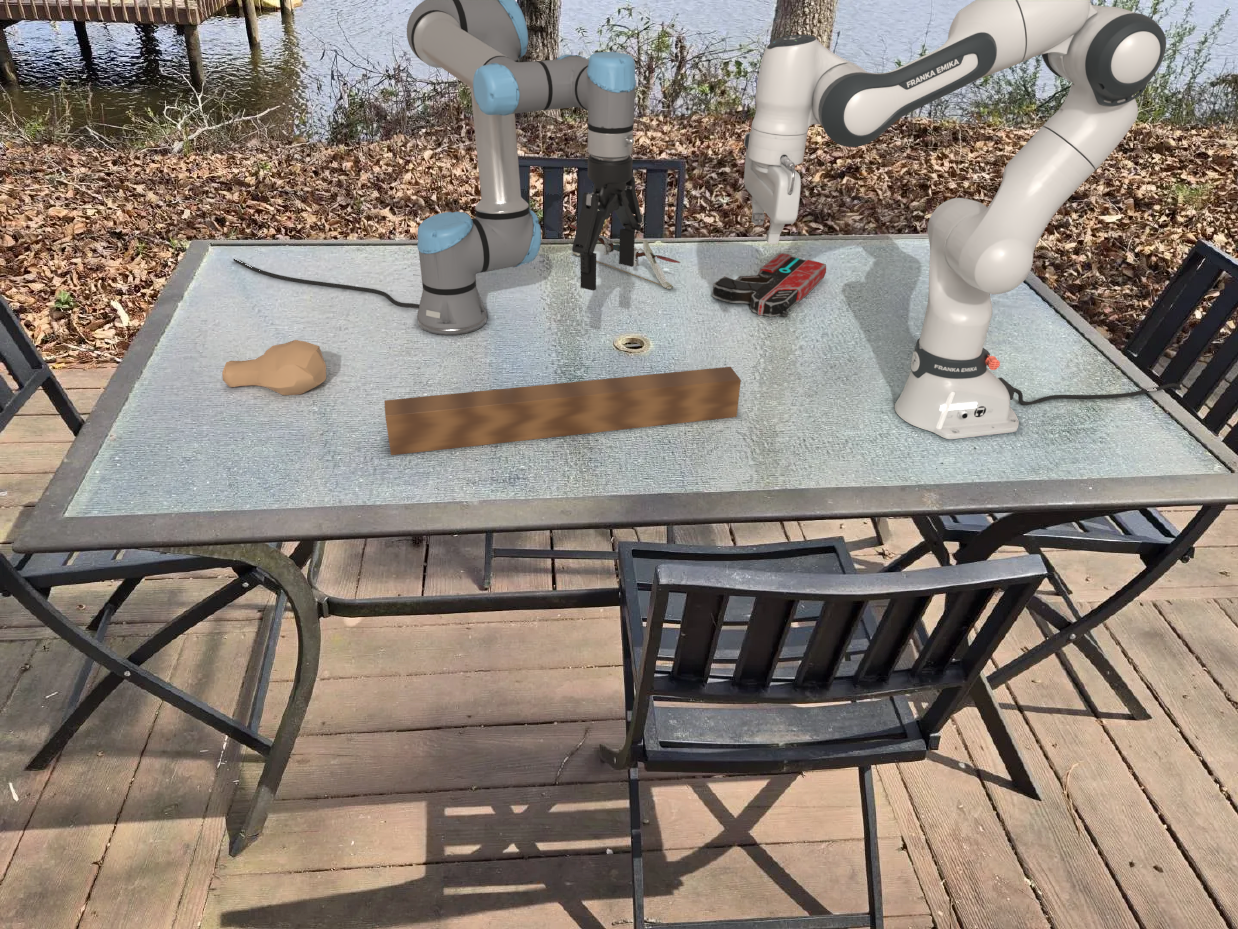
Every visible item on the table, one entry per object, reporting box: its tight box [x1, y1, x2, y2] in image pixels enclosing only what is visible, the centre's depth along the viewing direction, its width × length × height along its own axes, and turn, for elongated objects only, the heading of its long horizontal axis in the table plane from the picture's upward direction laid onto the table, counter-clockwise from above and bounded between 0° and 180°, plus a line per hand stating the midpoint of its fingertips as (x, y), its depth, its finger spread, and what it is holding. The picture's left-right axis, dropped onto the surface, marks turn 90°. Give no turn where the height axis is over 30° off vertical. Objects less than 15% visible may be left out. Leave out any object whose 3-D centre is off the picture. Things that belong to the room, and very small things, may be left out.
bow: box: [567, 223, 681, 290], centre depth 222 cm, size 39×2×10 cm, turn 47°
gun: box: [711, 252, 827, 318], centre depth 215 cm, size 4×31×19 cm
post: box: [383, 366, 742, 456], centre depth 158 cm, size 64×5×8 cm, turn 104°
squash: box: [221, 339, 327, 396], centre depth 168 cm, size 11×20×9 cm, turn 90°
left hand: (607, 276), depth 158 cm, fingers open, 13 cm apart
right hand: (764, 232), depth 147 cm, fingers open, 8 cm apart
